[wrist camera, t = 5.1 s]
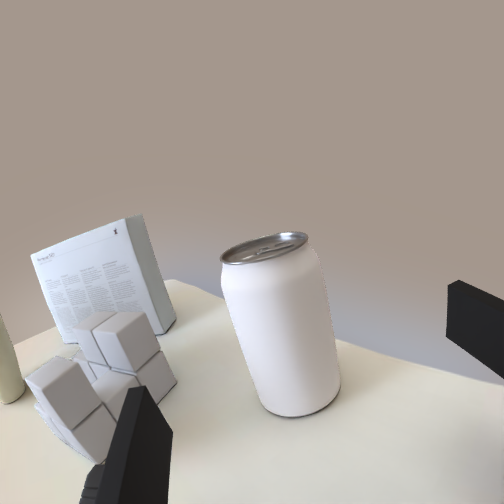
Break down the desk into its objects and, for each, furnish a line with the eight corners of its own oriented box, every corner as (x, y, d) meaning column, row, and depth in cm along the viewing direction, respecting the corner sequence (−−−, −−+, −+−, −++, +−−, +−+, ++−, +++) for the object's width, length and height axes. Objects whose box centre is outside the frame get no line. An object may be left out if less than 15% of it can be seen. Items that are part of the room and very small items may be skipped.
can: (257, 377, 25) (215, 247, 22) (328, 357, 25) (302, 224, 22) (263, 429, 18) (208, 275, 16) (352, 404, 18) (328, 242, 16)
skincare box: (179, 316, 43) (143, 211, 39) (166, 335, 37) (123, 218, 34) (80, 329, 46) (47, 246, 43) (63, 344, 41) (26, 255, 37)
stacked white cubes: (106, 367, 32) (78, 310, 30) (177, 382, 27) (145, 311, 25) (39, 422, 21) (0, 361, 20) (99, 466, 16) (41, 390, 14)
